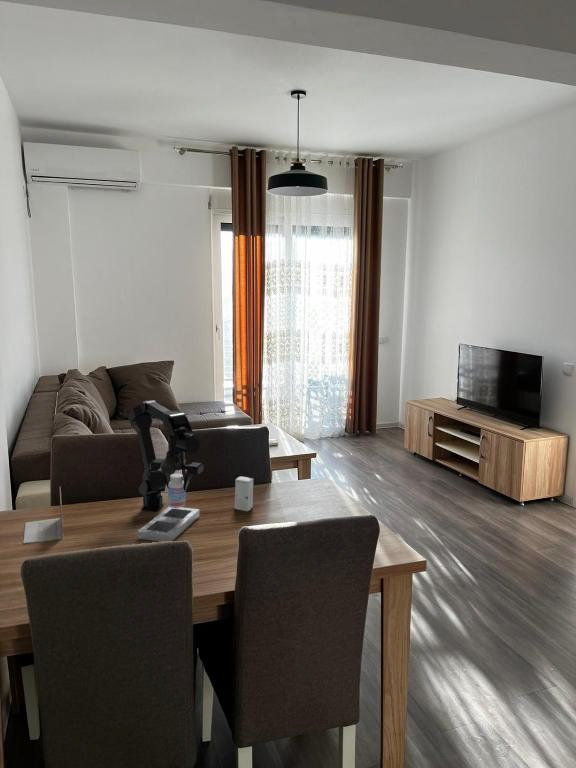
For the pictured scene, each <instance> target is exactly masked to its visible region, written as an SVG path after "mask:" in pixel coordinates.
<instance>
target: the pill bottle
mask: <svg viewBox="0 0 576 768" xmlns="http://www.w3.org/2000/svg"><path fill="white" fill-rule="evenodd" d="M170 480H171V481H170V482H169V484H168V488H167V489H168V493H167V494H168V498H167V499H168V507H169V506H170V507H172V508H180V507H185V505H186V490H185V491H184V477H183V474H181V473H174V474H171V476H170Z"/></svg>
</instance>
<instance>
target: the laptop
mask: <svg viewBox="0 0 576 768" xmlns="http://www.w3.org/2000/svg"><path fill="white" fill-rule="evenodd" d="M61 487H62V486H59V506H60V517H57V518H49V519H41V520H32V521H26V522H25V523H24V531H23V532H24V533H23V540H22V541H23V542H22V543H23V544H24V545H25V544H33V543H34V544H35V543H43V542H48V541H49V542H50V541H56V540H63V539H64V538H63V537H64V530H63V529H64V526H63V525H64V524H63V523H64V522H63V519H64V518H63V506H62V490H61V489H62V488H61Z"/></svg>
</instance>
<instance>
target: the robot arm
mask: <svg viewBox="0 0 576 768" xmlns="http://www.w3.org/2000/svg"><path fill="white" fill-rule="evenodd" d="M127 415H128V416H127V419H128V421H129V424H130V426H131V428H132V429H133V430H134V432H135V433H136V434H137V438H138V439H137V440H138V444H139V448H140V453H141V457H142V463H143V466H144V471H143V474H142V477H141V478H142V479H141V480H142V482H141V484H140V485H139V487H138V493H139V494H140V495H142V502H143V505H142V507H141V510H143V511H150V512H151V511H152V512H157V511H159V510H160V509H161V508H162V507H164V503H163V495H162V492H165V491H166V487H167V489H168V484H169V482H170V481H171V480H170V476H171V475H173V474H176V473H175V472H176V471H180V470H181V471H183V470H184V471H185V472H183V474H182V475H183V481H184V491H185V492H186V490H187V489H188V485H189V483H190V482H191V481H190V480H191V479H192V478H193V476H198V475H199V474H201V473H202V472H203V471H204V465H203V463H202V462H192V463H190V464H186V463H187V459H185V458H186V457H185V456H186V455H185V453H186V454H189V455H194V454H196V453H197V452H198V450H199V448H200V442H199V440H198V439H197V438H195V434H194V433H193V429H192V425H191V423H190V422H189V419H188V417H187V415H186V413H184V412H182V411H177V410H170V409H168V408H167V407H165V406H163V405H162V404H159V403H157V401H156V400H153V399H151V400H150V399H149V400H144V401H142V402H141V403H140V404H138V405H137V406H135V407H133V408H132V409H131V410H130V412H129V413H128V414H127ZM153 417H154V418H156V419H158V420H159V421H161V422H162V426H163V427H164V428H165V429H166V430H165V432H164V434H166V435H167V444H168V445H167V451H166V454H165V458H158V457H156V453H155V448H154V443H153V439H152V433H151V430H150V429H151V426H152V424H153Z"/></svg>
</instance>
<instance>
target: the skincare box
mask: <svg viewBox="0 0 576 768" xmlns="http://www.w3.org/2000/svg"><path fill="white" fill-rule="evenodd" d="M234 482H235V484H234V488H235V489H234V509H235V510H239V511H244V512H249V511H251V508H252V509H253V504H254V503H253V501H254V498H253V497H254V478H252V477H247V476H238V477H237V478H235V481H234Z"/></svg>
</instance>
